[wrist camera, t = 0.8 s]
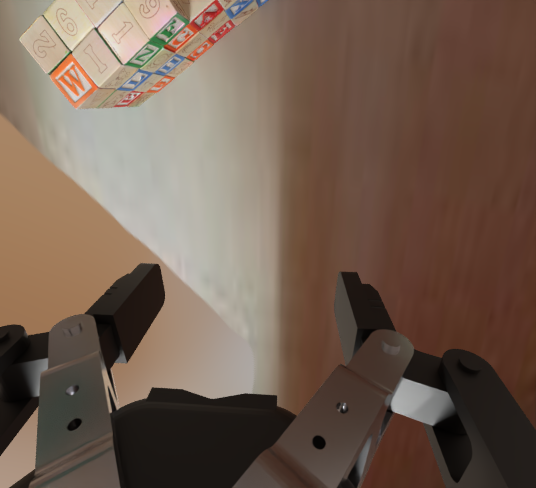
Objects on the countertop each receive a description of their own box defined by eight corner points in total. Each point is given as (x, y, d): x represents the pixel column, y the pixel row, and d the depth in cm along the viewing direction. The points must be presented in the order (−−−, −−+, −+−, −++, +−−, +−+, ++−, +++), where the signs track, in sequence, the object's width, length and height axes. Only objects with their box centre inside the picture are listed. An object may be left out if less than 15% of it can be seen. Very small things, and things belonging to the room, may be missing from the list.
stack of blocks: (251, -80, 28) (226, -198, 17) (284, -12, 30) (280, -78, 19) (102, 59, 34) (14, 38, 23) (138, 108, 37) (73, 110, 26)
